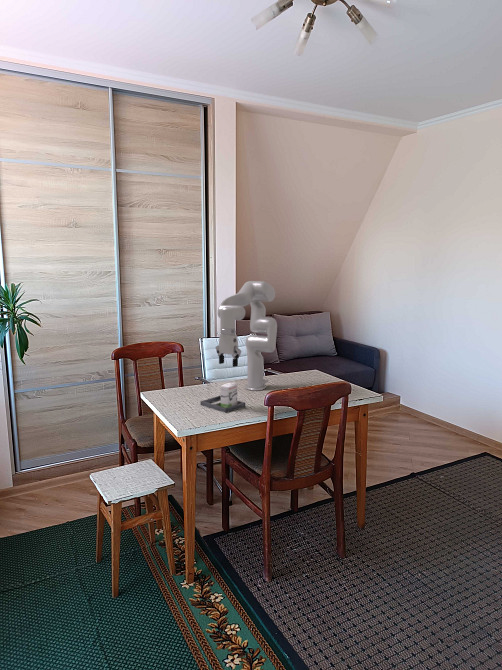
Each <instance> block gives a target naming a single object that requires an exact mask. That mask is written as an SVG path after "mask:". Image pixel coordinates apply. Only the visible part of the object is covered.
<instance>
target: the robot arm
mask: <svg viewBox="0 0 502 670" xmlns="http://www.w3.org/2000/svg"><path fill="white" fill-rule="evenodd" d="M275 298H276V290H275V288H274V287H273V285H271V284H270V283H268V282H266V281H263V280H249V281H246V282H244V284H242V286H241V288H240V289H239V291H238V292H237V293H235V294H233V295H230V296H228V297H226V298H225V299H224V300H222V302H220V304H219V306H218V308H217V317H218V318H219V320H220V324H219V325H220V328H219V329H220V333H219V338H218V345H217V346H215V350H216V353H217V356H218V364H219V365H222V364H224V363H225V355H228V356H229V355H230V356H231V357H232V367H233V368H235V367H238V365H239V358H240V357H241V355H242V350H241V348H239V339H238V335H237V334H236V333H237V330H236V321H241V320H243V319H245V316H246V309H245V307H247V306H249V305H250V308H251V309H250V321H249V322H250V323H249V329H250V330H249V331H250V332H252V333H255V334H253V335H249V336H248V337H246V339H245V348H246V355H247V357H246V358H247V368H246V369H247V372H246V373H247V375H246V376H247V378H246V379H247V384H245V386H244V388H245V390H249V391H263V389H264V390H266V389H265V388H267V385H266V383H269V379H267V378H266V379H265V376H264V373H265V372H264V368H265V367H264V366H265V365H264V364H265V363H264V361H265V360H264V356H263V355H262V353H274V352H275V350H276V344H277V343H276V342H277V334H278V332H277V331H278V322H277V320H276V319H275V318H274V317H269V316H268V317H267V316H266V315H267V314H266V312H267V310H266V306H265V304H264V303H263V302H273V301H274V299H275ZM256 334H257V335H256ZM259 334H261V335H259ZM262 334H264V335H262ZM265 334H266V335H265ZM224 354H225V355H224Z"/></svg>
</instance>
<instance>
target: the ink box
mask: <svg viewBox="0 0 502 670" xmlns="http://www.w3.org/2000/svg"><path fill="white" fill-rule="evenodd" d="M220 396H221V400H220V402H221V407H224V408H228V407H231V406H234V405H237V401H238V383H234V382H228V383H225V384H222V385H220Z"/></svg>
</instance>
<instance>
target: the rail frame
mask: <svg viewBox="0 0 502 670" xmlns="http://www.w3.org/2000/svg"><path fill="white" fill-rule="evenodd" d="M217 401H220V402H218V403H214V402H217ZM213 403H214V404H213ZM200 406H202V407H206V408H208V409H212V410H216V411H219V412H222V413H225V414H227V413H229V412H233V411H235V410H239V409H242V408H244V407H246V402H244V401H241V400H237V405H234V406H231V407H228V408H224V407H221V395H218V396H217V395H216V396H215V397H210V398H207V399H203V400H200Z"/></svg>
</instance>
